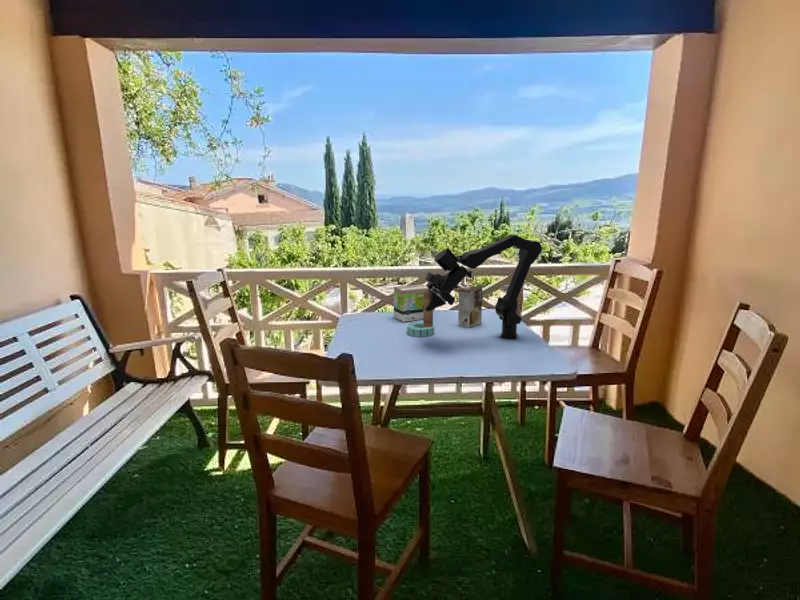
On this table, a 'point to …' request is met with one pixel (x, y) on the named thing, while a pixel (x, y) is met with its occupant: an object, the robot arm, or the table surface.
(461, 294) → the coffee box
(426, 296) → the walnut peg
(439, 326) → the table surface
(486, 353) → the table surface
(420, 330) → the teal bead
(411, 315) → the tea box
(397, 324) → the table surface
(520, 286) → the robot arm
